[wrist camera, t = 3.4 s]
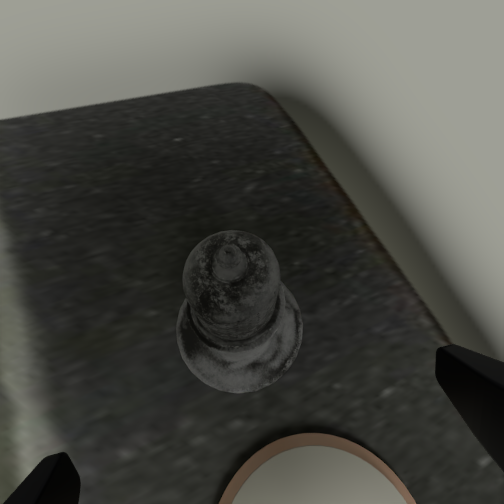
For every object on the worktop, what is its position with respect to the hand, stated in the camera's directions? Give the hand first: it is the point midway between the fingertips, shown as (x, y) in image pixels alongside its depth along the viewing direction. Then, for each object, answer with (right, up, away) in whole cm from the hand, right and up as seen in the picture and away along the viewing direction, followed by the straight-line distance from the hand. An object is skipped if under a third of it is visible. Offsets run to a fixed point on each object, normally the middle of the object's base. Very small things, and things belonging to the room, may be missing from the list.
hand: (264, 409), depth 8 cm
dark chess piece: (-1, -1, +11) cm, 11 cm away
